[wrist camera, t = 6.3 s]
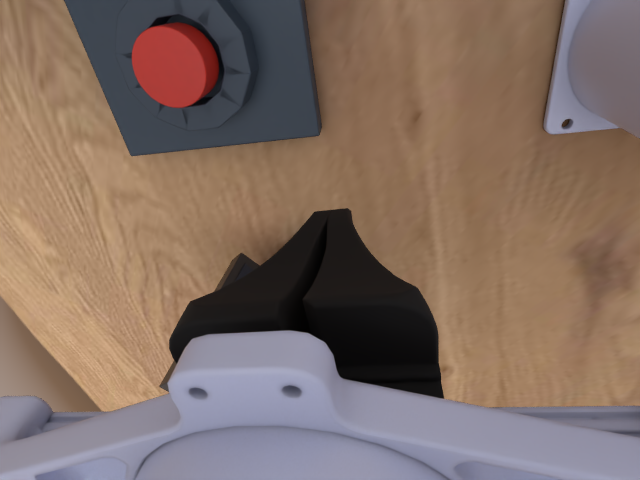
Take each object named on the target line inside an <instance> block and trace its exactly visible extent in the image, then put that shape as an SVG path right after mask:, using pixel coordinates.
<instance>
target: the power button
mask: <svg viewBox="0 0 640 480" xmlns="http://www.w3.org/2000/svg"><path fill="white" fill-rule="evenodd" d="M132 65H133V70H134V73H135V76H136V78H137V80H138V82H139V84H140V85H141V86H142V88H143V89H144V90H145V92H146V93H147V94H148V95H149V96H150V97H152V98H153V99H154V100H156V101H157V102H159V103H161V104H163V105H166V106H168V107H173V108H183V107H187V106H190V105H192V104H194V103H195V102H197V101H198V100H200V99H201V98H202V97H204V96H205V95H207V94H208V93H209V92H210V91H211V90H212V89H213V88H214V86H215V84H216V82H217V79H218V75H219V62H218V58H217V54H216V52H215V49H214V47H213V46H212V44H211V42H210V41H209V40H208V38H207V37H206V36H205V35H204V34H203V33H202V32H201V31H199V30H198V29H196V28H195V27H193V26H191V25H188V24H185V23H178V22H176V23H169V24H164V25H159V26H154V27H150V28H148V29H146V30H145V31H143V32H142V33H141V34H140V35H139V36H138V38H137V39H136V41H135V43H134V46H133V50H132Z"/></svg>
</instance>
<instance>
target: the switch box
mask: <svg viewBox="0 0 640 480" xmlns="http://www.w3.org/2000/svg"><path fill="white" fill-rule="evenodd" d="M64 1H65V4H66V6H67V8H68V11H69V13H70V15H71V18H72V20H73V22H74V25H75V27H76V29H77V32H78V34H79V36H80V38H81V41H82V43H83V45H84V48H85V50H86V52H87V55H88V57H89V59H90V62H91V64H92V66H93V69H94V71H95V73H96V76H97V78H98V80H99V83H100V85H101V87H102V90H103V92H104V94H105V97H106V99H107V101H108V104H109V106H110V108H111V111H112V113H113V115H114V118H115V120H116V122H117V125H118V127H119V129H120V132H121V134H122V136H123V139H124V141H125V143H126V146H127V148H128V150H129V153H130V155H131V156H138V155H147V154H156V153H165V152H175V151H184V150H193V149H202V148H211V147H221V146H230V145H239V144H248V143H258V142H267V141H276V140H285V139H294V138H304V137H313V136H319V135H320V132H321V128H322V124H321V117H320V110H319V103H318V95H317V88H316V81H315V74H314V67H313V59H312V52H311V45H310V38H309V31H308V23H307V16H306V9H305V2H304V0H64ZM176 22H178V23H185V24H188V25H191V26H193V27H195V28H196V29H198V30H199V31H201V32H202V33H203V34H204V35H205V36H206V37H207V38H208V40H209V41H210V42H211V44H212V46H213V47H214V49H215V52H216V54H217V58H218V62H219V75H218V79H217V82H216V84H215V86H214V88H213V89H212V90H211V91H210V92H209V93H208V94H207V95H205V96H204V97H202V98H201V99H200V100H198V101H197V102H195V103H194V104H192V105H190V106H187V107H183V108H173V107H168V106H166V105H163V104H161V103H159V102H157V101H156V100H154V99H153V98H152V97H150V96H149V95H148V94H147V93H146V92H145V90H144V89H143V88H142V86H141V85H140V84H139V82H138V80H137V78H136V76H135V73H134V70H133V65H132V50H133V46H134V43H135V41H136V39H137V38H138V36H139V35H140V34H141V33H142V32H143V31H145V30H146V29H148V28H150V27H154V26H159V25H164V24H169V23H176Z"/></svg>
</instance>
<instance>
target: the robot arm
mask: <svg viewBox="0 0 640 480" xmlns="http://www.w3.org/2000/svg"><path fill="white" fill-rule="evenodd" d="M566 119H570V121H569V123H568V125H566V126H564V127H562V123H563V121H565V120H566ZM543 127H544V129H545V131H546V132H548V133H549V134H564V133H574V132H584V131H595V130H605V129H615V128H622V129H623V130H625V131H627V132H629V133H631V134H632V135H634V136H636V137H638V138H640V0H565V4H564V10H563V16H562V21H561V27H560V33H559V38H558V44H557V50H556V55H555V61H554V67H553V73H552V78H551V84H550V90H549V95H548V101H547V107H546V112H545V118H544V124H543ZM169 349H170V351H171V354H172V357H173V359H174V360H175V362H176V364H177V365H176V367H175V369H174V371H173V373H172V375H171V377H170V379H169V381H168V383H167V384H168V389H169V394H165V395H162V396H159V397H156V398H153V399H149V400H146V401H143V402H140V403H137V404H134V405H130V406H127V407H124V408H121V409H118V410H114V411H111V412H53V411H52V409H51V407H50V406H49V405H48V404H47V403H46V402H45V401H44V400H42V399H41V398H38V397H36V396H3V397H0V480H640V406H578V407H483V406H478V405H473V404H468V403H463V402H458V401H453V400H447V399H444V395H443V390H442V385H441V373H440V368H439V363H438V330H437V326H436V323H435V320H434V318H433V315H432V313H431V311H430V309H429V307H428V305H427V303H426V301H425V299H424V298H423V296H422V294H421V293H420V291H419V289H418V288H417V287H415V286H413V285H411V284H409V283H407V282H405V281H403V280H401V279H399V278H398V277H396V276H395V275H393V274H392V273H391V272H390V271H389V270H387V269H386V268H385V267H384V266H382V265H381V264H380V263H379V262H378V261H377V260H376V259H375V257H374V256H373V255H372V254H371V253H370V251H369V250H368V249H367V248H366V246H365V245H364V243H363V242H362V240H361V238H360V237H359V235H358V233H357V231H356V229H355V227H354V225H353V221H352V214H351V211H350V210H349V209H348V208H346V209H336V210H327V211H317V212H314V213H313V214H312V216H311V217H310V218H309V219H308V220H307V221H306V223H305V224H304V225H303V226H302V227H301V228H300V230H299V231H298V232H297V233H296V234H295V235H294V236H293V237H292V238H291V239H290V240H289V241H288V242H287V243H286V244H285V245H284V246H283V247H282V248H281V249H280V250H279V251H278V252H277V253H276V254H275V255H274V256H272V257H271V258H270V259H269V260H267V261H266V262H265V263H264V264H262V265H261V266H259V267H258V268H256V269H255V270H253V271H252V272H250V273H249V274H247V275H246V276H244V277H242V278H241V279H239V280H237V281H235V282H234V283H232V284H230V285H228V286H226V287H224V288H222V289H220V290H217V291H215V292H213V293H210V294H208V295H205V296H203V297H201V298H198V299H196V300H193V301H190V303H189V304H188V306H187V308H186V309H185V311H184V313H183V315H182V316H181V318H180V320H179V322H178V324H177V326H176V328H175V329H174V331H173V333H172V335H171V338H170V340H169Z"/></svg>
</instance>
